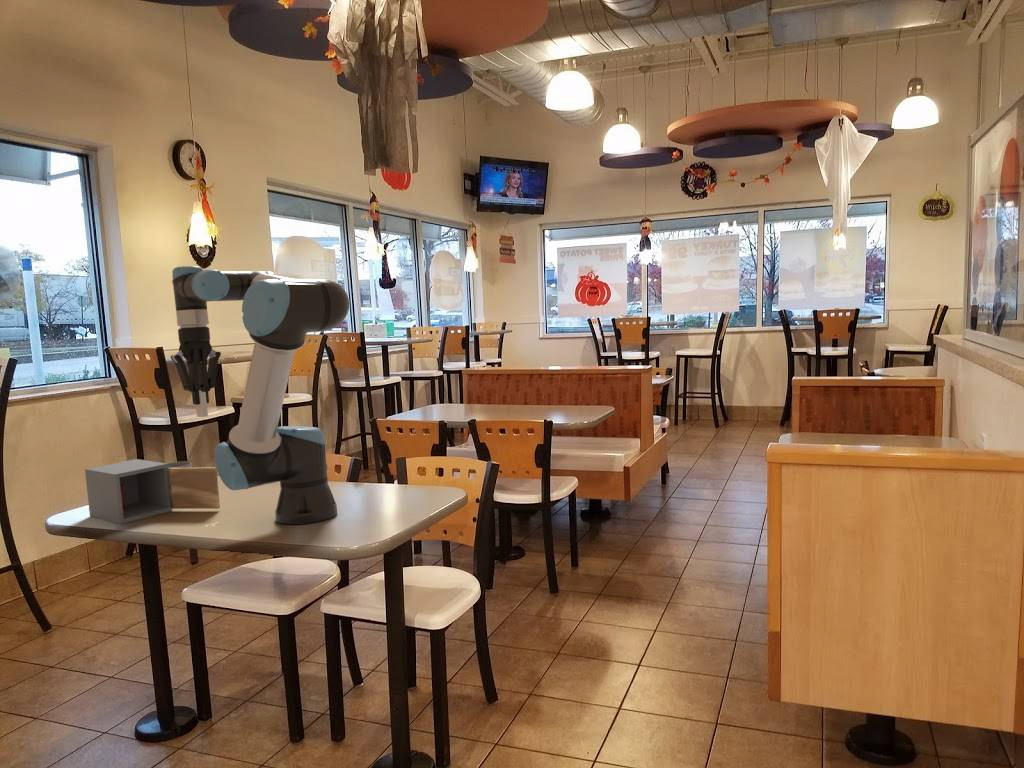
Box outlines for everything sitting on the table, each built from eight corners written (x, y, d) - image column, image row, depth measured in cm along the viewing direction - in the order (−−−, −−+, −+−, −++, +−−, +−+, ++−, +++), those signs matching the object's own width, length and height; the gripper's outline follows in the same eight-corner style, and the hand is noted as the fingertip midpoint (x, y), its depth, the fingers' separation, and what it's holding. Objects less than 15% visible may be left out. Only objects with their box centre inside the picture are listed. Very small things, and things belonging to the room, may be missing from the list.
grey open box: (172, 510, 199) (167, 463, 197) (120, 524, 187) (114, 474, 186) (141, 503, 208) (136, 459, 206) (89, 516, 196) (84, 469, 195)
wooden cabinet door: (175, 506, 200) (171, 466, 199) (222, 506, 197) (219, 466, 196) (169, 508, 198) (165, 468, 196) (217, 508, 195) (213, 468, 194)
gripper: (208, 326, 197) (217, 412, 199) (161, 328, 187) (171, 419, 189) (224, 325, 193) (232, 413, 195) (177, 327, 183) (186, 420, 185)
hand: (202, 416), depth 192 cm, fingers closed
